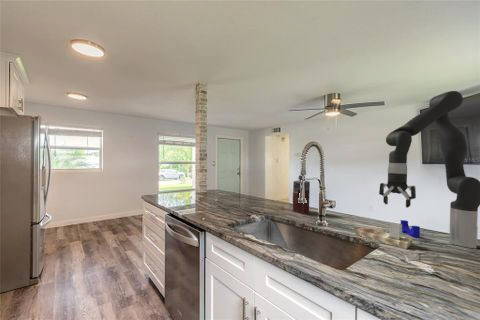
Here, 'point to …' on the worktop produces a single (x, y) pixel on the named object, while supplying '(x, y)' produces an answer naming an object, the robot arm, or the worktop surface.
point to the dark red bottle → (296, 190)
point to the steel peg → (395, 231)
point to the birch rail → (383, 237)
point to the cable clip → (413, 232)
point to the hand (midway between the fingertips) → (396, 205)
